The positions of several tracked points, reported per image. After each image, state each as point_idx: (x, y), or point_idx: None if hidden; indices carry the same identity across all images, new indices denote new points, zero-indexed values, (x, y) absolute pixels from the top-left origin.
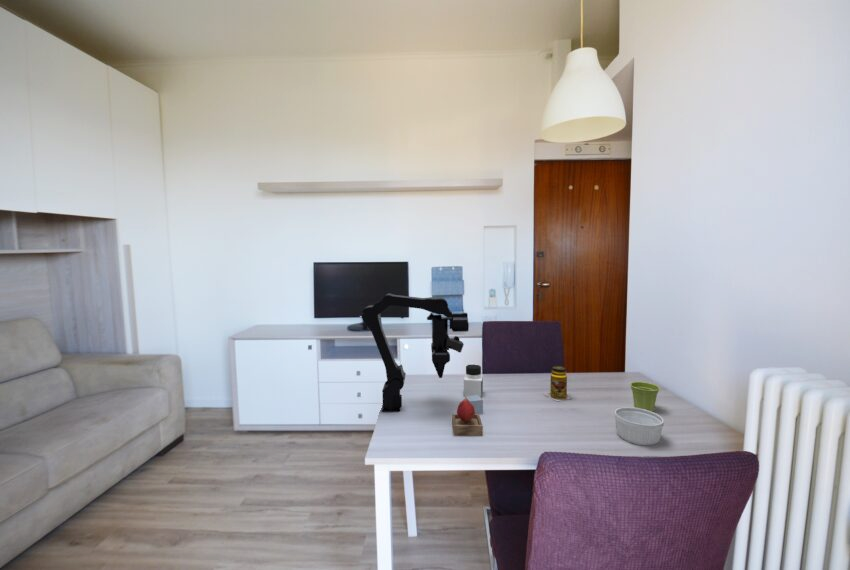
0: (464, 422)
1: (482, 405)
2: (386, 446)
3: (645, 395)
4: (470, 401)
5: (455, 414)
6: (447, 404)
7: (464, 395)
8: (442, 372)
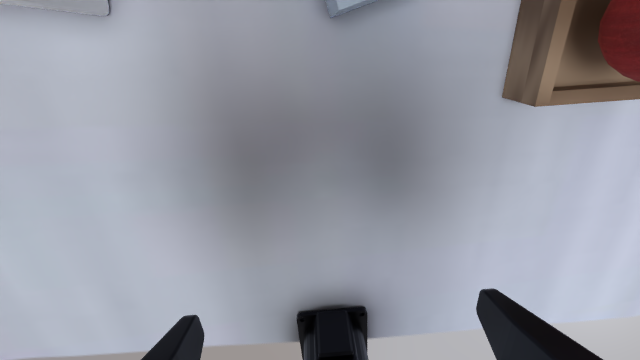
0: None
1: None
2: (615, 298)
3: None
4: None
5: (547, 85)
6: (266, 125)
7: (105, 11)
8: (566, 345)
